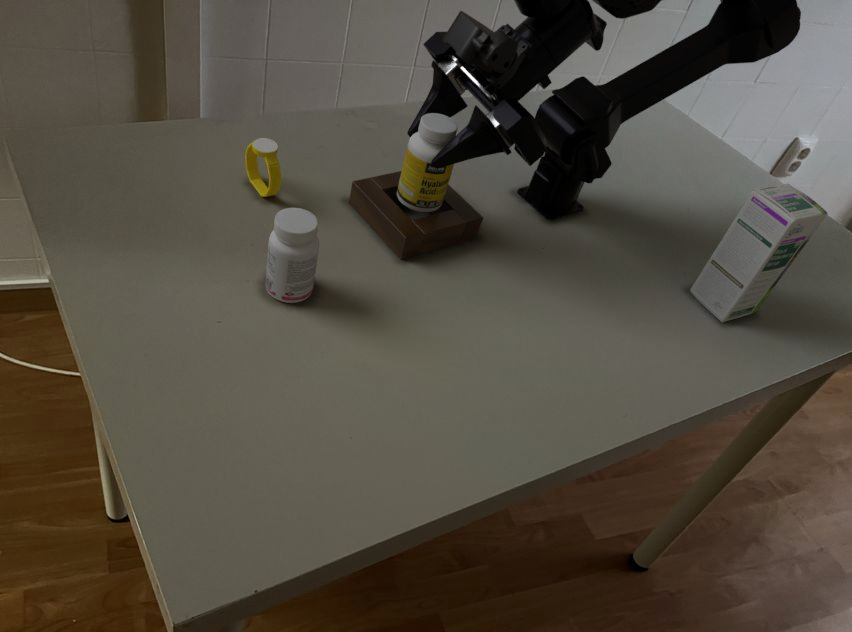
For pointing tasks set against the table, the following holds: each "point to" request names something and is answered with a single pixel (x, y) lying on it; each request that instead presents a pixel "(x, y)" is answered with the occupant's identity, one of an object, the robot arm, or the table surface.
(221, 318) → the table surface
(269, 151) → the watch
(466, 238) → the socket block
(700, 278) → the syrup box
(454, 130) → the supplement bottle
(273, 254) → the pill bottle
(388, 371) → the table surface
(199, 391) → the table surface
